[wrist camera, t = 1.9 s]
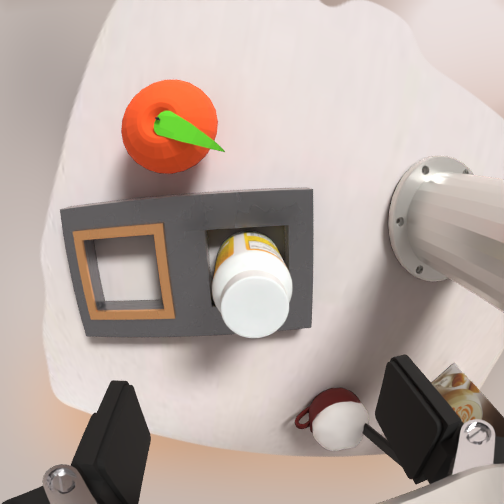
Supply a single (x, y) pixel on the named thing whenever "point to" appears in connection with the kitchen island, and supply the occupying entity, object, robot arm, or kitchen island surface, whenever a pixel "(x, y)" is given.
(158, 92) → the clementine
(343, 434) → the cocoa
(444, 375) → the coffee box
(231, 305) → the supplement bottle
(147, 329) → the two-pocket grey tray
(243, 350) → the kitchen island surface
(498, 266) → the robot arm
